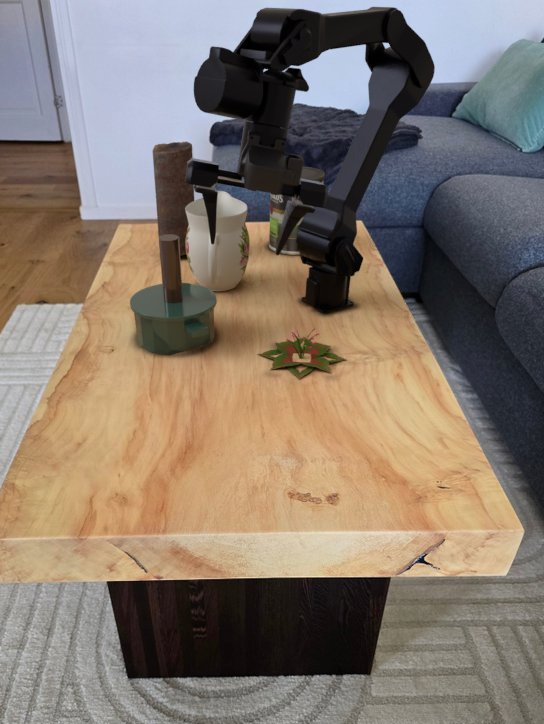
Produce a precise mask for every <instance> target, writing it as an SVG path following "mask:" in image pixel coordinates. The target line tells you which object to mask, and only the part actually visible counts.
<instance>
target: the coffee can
mask: <svg viewBox="0 0 544 724" xmlns="http://www.w3.org/2000/svg"><path fill="white" fill-rule="evenodd" d="M325 174H326V173H325V171H324V170H322V169H319V168H316V167H312V166H304V165H303V168H302V174H301V178H302V179H307V180H312V181H318V182H320V183H322V184H324V180H325ZM269 194H270V196H269V237H268V247H269V250H271V251H273V252H276V244H277V239H278V235H279V232H280V228H281V224H282V220H283V216H284V213H285V209H286V205H287V201H288V200H289V201H292V197H290V196H285V195H272V194H271V193H269ZM303 218H304V216H303V217H302V218H301V219H300V221H299V222H298V223H297V225H296V226H295V228H294V229H293V231H292V233H291V234H290V236H289V238H288V240H287V242H286V243H285V245H284V247H283V249H282V250H281V252H280V254H283V255H289V256H300V253H299V250H298V245H297V243H296V238H297V234H298V231H299V230H300V229H297V227H298V226H299V225H300V223H301V222H302V220H303Z"/></svg>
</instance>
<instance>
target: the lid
mask: <svg viewBox="0 0 544 724" xmlns="http://www.w3.org/2000/svg"><path fill="white" fill-rule="evenodd" d="M158 249H159V261H160V271H161V283H159V284H154V285H150V286H147V287H145V288H142V289H140V290H138V291H136V292H135V293H134V294H133V295H132V296H131V298H130V300H129V307H130V310H131V311H132V312H133V314H134V313H135V314H137V315H138V316H140V317H143V318H146V319H149V320H154V321H164V322H174V321H185V320H190V319H194V318H198V317H201V316H203V315H205V314H207V313H209V312H210V311H212V310H213V309H214V310H215V308H216V306H217V299H218V298H217V295H216V294H215V292H214V291H211V290H210V289H208V288H206V287H203V286H200V284H196V283H188V282H183V279H182V278H183V277H182V264H181V262H182V261H181V256H180V246H179V236H177V235H173V234H167V235H162V236H160V237H159V236H158Z"/></svg>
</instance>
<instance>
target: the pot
mask: <svg viewBox="0 0 544 724" xmlns="http://www.w3.org/2000/svg"><path fill="white" fill-rule="evenodd" d="M133 315H134V323H135V324H134V325H135V334H136V340H137V343H138V345H139V346H140V347H141V348H142V349H144V350H145V351H148V352H150V353H152V354H157V355H162V356H173V355H176V354H180V353H183V352H188V351H193V350H197V349H200V348H202V347H205V346H209V345H211V344H212V343H213V342H214V339H215V308H214V309H213V310H212V311H210V312H209V313H207V314H205V315H203V316H201V317H198V318H194V319H190V320H185V321H174V322H164V321H154V320H149V319H146V318H143V317H140V316H138V315H137V314H135V313H134V312H133Z"/></svg>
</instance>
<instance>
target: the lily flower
mask: <svg viewBox="0 0 544 724" xmlns="http://www.w3.org/2000/svg"><path fill="white" fill-rule="evenodd" d="M315 329H316V328H315V327H314V328H312V330H311V331H310V333H309V334H308V336H307V337H305V336H303V337H300V334H299V331H298V329H297V328H295V332H296V333H297V334H296V333H295V332H294V331H291V337H292V338H293V339H294V341H293V340H290V339H288V338H286V340H285V341H280V342H275V345H276V347H277V349H274V348H273V349H269V350H266V351H263V352H262V353H257V355H258V356H262V357H265V358H268V359H270V360H273V361H272V364H271V366H272V367H271V368H270V369H269V371H272V370H276V369H281V368H285V367H287V369H288V370H289V371H290V372H291V373H292V374H293V375H294V376H296V377H297V379H298V380H301V379H302V378H303V377H305V375H308V374H309V373H310V372H312V371H313V370H314V368H317V369H319V370H322V371H324V372H327V373H329V374H332V372H331V367H330V364H332V363H336V362H342V361H347V359H346V358H344V357H342V356H339V355H338V354H336V353H334V352H328V351H329V349H330V348H331V347H332V345H328V344H323V343H321V342H316V341H315V342H313V341H312V340H315V338H314V337H317V336H319V335H320V333H316V334H314V335H312V336H311V337H310V335H311V334H312V333H313V332H314V331H315ZM309 337H310V338H309ZM294 354H297V355H298V358H299V359H304V357H305V354H306V355H310V361H294V360H293V357H294ZM301 364H302V365H304V366H307V367H305V369H302V370H301V371H300V370H299V369H298V368H297V367H296V366H298V365H301Z"/></svg>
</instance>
